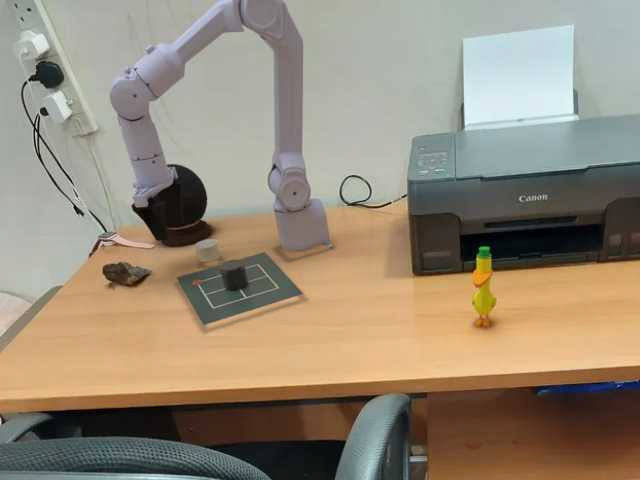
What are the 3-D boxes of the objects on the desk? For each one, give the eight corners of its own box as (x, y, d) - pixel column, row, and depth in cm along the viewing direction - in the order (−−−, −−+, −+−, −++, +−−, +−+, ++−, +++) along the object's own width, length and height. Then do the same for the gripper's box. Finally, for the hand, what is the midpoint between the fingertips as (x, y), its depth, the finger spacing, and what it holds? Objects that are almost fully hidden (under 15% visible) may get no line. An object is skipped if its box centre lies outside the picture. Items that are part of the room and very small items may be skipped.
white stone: (219, 256, 134) (213, 237, 132) (224, 263, 131) (219, 244, 129) (198, 262, 133) (192, 243, 131) (203, 269, 130) (197, 250, 128)
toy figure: (488, 336, 99) (489, 261, 91) (465, 334, 100) (463, 260, 92) (499, 314, 103) (500, 241, 96) (476, 312, 105) (476, 239, 97)
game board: (266, 257, 131) (264, 251, 130) (305, 300, 115) (303, 293, 114) (177, 283, 127) (175, 277, 126) (205, 331, 110) (203, 325, 110)
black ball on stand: (192, 250, 138) (171, 177, 129) (144, 246, 143) (120, 175, 134) (227, 225, 147) (210, 155, 138) (181, 222, 152) (161, 154, 143)
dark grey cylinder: (244, 277, 122) (239, 256, 120) (251, 286, 119) (246, 265, 116) (221, 284, 121) (216, 263, 119) (228, 293, 118) (222, 272, 115)
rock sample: (164, 252, 129) (122, 236, 122) (162, 289, 127) (119, 275, 121) (137, 268, 136) (96, 253, 129) (135, 303, 134) (93, 290, 128)
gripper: (142, 144, 120) (165, 217, 129) (106, 170, 109) (134, 248, 118) (178, 140, 119) (199, 215, 127) (145, 167, 108) (170, 247, 116)
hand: (170, 231), depth 122 cm, fingers open, 7 cm apart
